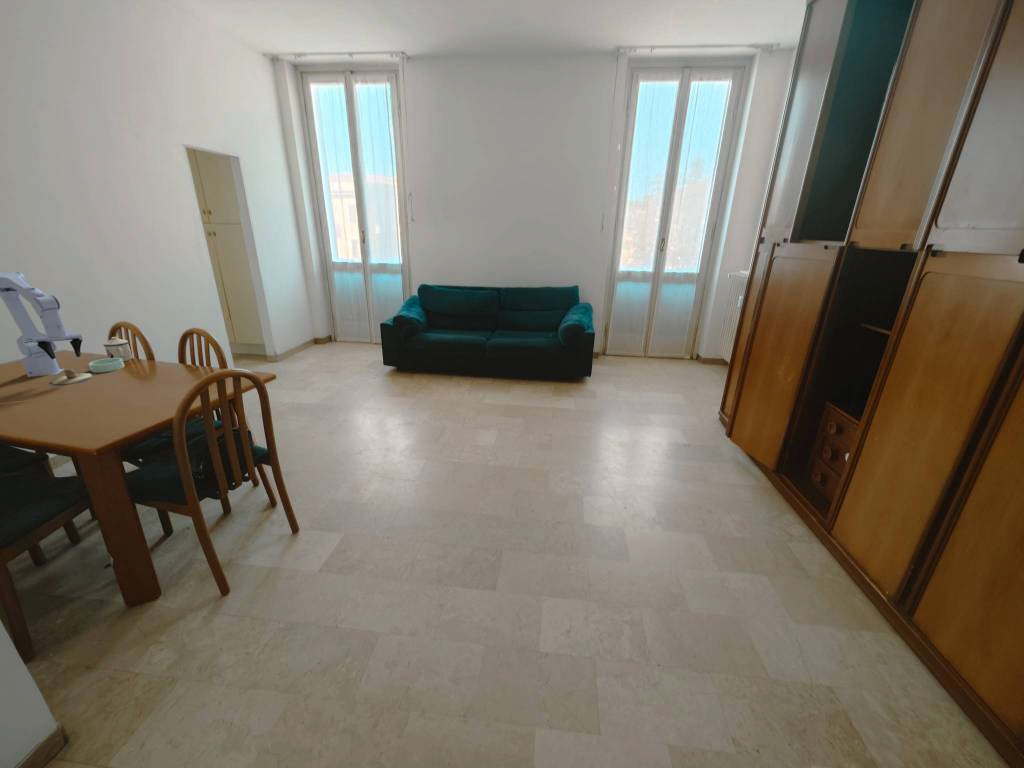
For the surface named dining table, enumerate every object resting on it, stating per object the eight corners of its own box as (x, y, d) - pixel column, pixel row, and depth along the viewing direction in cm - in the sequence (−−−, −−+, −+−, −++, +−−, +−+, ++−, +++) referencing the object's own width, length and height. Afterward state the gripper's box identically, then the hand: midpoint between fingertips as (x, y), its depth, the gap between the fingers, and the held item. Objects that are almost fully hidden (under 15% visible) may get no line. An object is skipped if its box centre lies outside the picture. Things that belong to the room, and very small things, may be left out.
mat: (46, 387, 165) (46, 386, 165) (60, 378, 175) (59, 377, 175) (86, 383, 170) (85, 382, 170) (97, 374, 180) (96, 373, 180)
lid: (46, 386, 165) (42, 376, 163) (59, 377, 175) (55, 367, 173) (85, 382, 170) (82, 372, 168) (96, 373, 180) (93, 364, 178)
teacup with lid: (107, 359, 200) (99, 337, 195) (131, 356, 206) (124, 334, 202) (112, 365, 193) (104, 341, 189) (137, 360, 199) (129, 338, 195)
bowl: (88, 374, 180) (84, 366, 178) (97, 367, 189) (94, 359, 187) (120, 371, 185) (117, 363, 183) (127, 364, 194) (125, 356, 192)
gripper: (23, 329, 158) (37, 362, 163) (74, 326, 165) (86, 357, 170) (32, 325, 164) (45, 357, 169) (81, 322, 171) (92, 353, 175)
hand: (66, 357), depth 169 cm, fingers open, 7 cm apart
